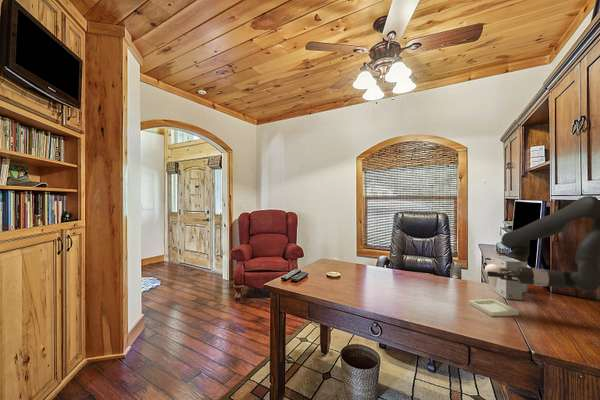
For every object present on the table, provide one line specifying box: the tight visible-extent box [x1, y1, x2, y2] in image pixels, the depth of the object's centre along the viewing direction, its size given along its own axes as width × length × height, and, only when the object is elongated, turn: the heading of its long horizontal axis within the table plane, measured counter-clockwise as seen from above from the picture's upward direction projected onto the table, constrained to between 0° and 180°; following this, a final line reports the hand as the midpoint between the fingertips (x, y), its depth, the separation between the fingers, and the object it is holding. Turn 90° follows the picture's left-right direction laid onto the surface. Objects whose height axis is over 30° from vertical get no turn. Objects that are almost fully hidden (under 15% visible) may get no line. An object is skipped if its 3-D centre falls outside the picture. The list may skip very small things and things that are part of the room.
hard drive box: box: [490, 254, 523, 301], centre depth 138 cm, size 16×8×20 cm, turn 168°
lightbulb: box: [484, 263, 501, 288], centre depth 120 cm, size 6×6×11 cm
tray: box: [468, 298, 520, 318], centre depth 120 cm, size 13×13×2 cm
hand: (486, 271), depth 121 cm, fingers closed on lightbulb, 6 cm apart
